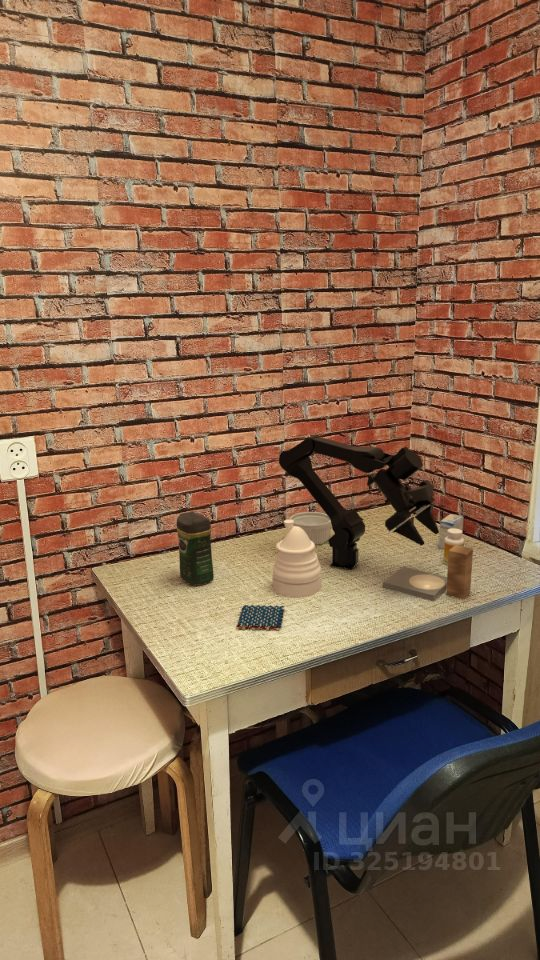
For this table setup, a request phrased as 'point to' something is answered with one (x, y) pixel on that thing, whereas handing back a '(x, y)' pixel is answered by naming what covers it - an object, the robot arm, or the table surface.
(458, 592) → the walnut block
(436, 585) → the slate board
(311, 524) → the ramekin
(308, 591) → the honey pot
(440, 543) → the medicine box
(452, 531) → the supplement bottle
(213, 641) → the table surface
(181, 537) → the coffee jar
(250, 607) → the woven mat
